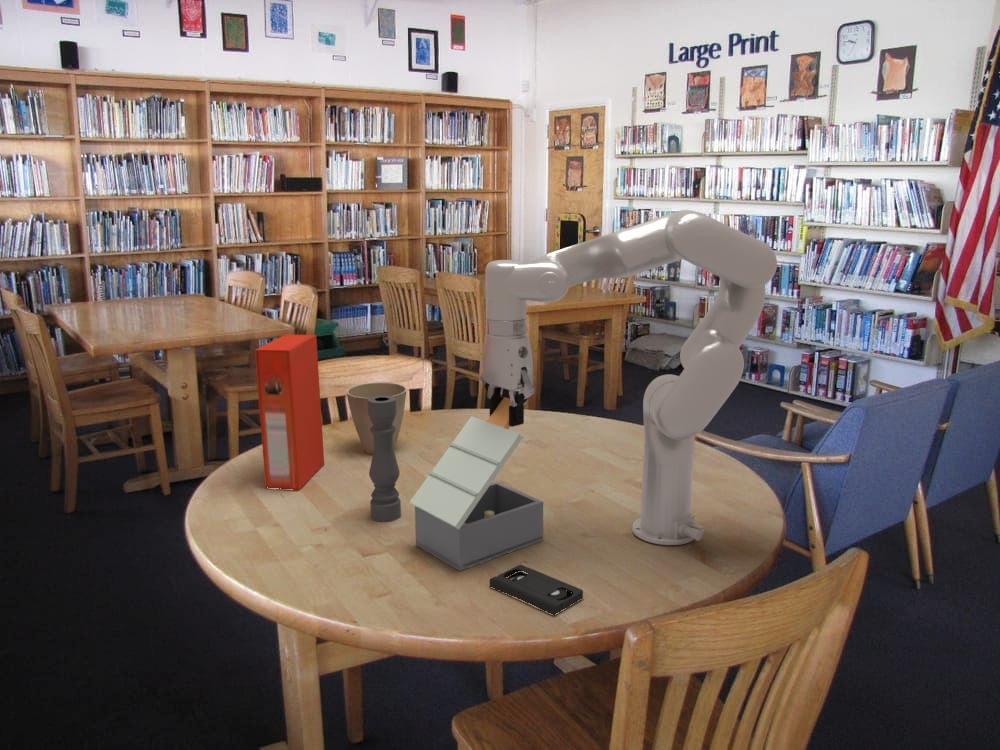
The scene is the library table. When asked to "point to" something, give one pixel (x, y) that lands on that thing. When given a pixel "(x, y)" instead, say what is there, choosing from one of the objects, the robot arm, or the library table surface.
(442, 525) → the tub
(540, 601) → the vhs tape
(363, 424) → the plant pot
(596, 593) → the library table surface
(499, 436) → the lid
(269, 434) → the file binder
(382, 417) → the candle holder
